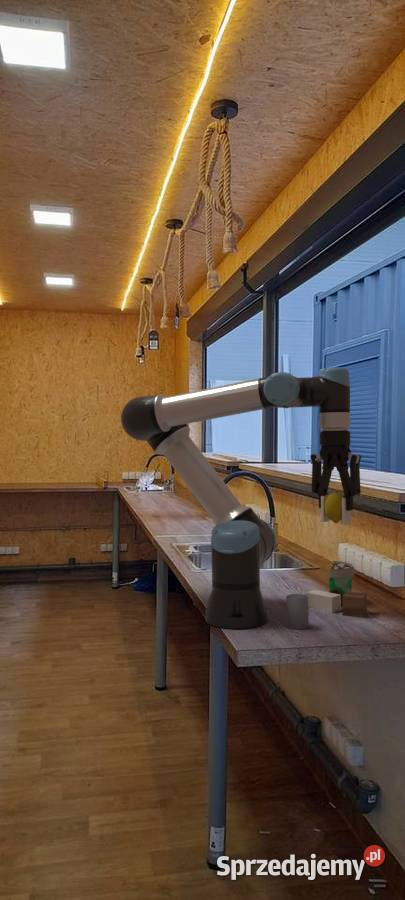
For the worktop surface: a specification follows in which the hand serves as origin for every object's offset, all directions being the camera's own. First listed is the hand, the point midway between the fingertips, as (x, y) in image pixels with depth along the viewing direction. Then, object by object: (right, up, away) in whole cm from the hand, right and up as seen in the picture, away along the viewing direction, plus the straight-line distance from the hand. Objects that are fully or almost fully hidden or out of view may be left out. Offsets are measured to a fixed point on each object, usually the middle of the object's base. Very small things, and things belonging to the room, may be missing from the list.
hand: (335, 522), depth 159 cm
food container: (+4, -23, +10) cm, 25 cm away
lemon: (0, -1, 0) cm, 1 cm away
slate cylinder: (-11, -23, -10) cm, 28 cm away
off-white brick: (-2, -23, +5) cm, 24 cm away
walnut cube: (+5, -23, -1) cm, 23 cm away
